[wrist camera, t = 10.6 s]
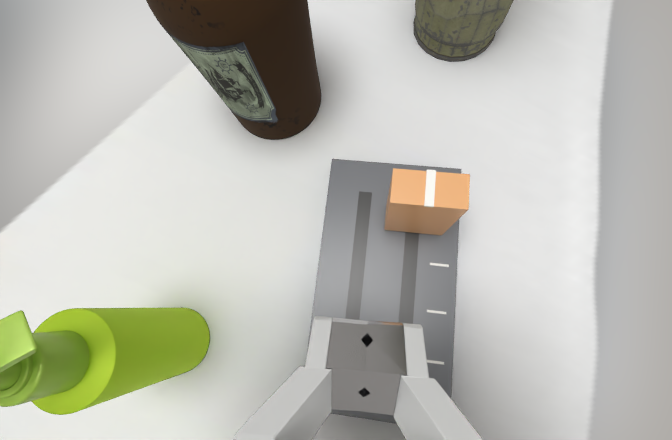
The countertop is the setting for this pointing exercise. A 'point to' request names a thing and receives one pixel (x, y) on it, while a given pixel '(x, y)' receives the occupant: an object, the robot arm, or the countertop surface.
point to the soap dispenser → (96, 354)
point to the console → (385, 266)
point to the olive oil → (251, 58)
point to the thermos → (458, 26)
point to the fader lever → (425, 201)
